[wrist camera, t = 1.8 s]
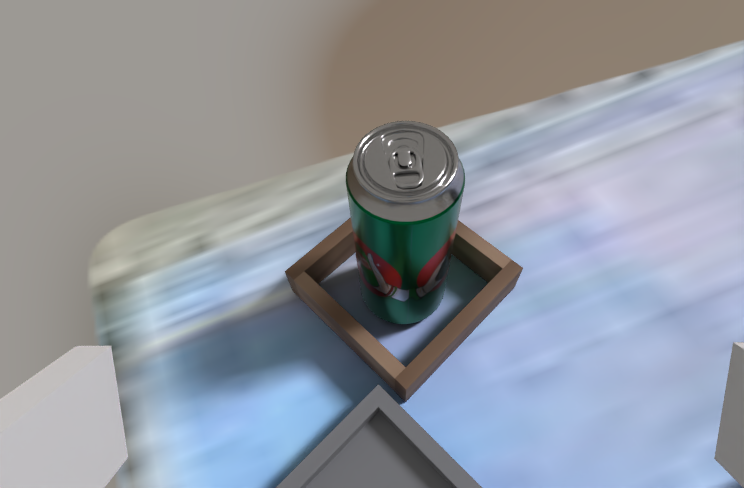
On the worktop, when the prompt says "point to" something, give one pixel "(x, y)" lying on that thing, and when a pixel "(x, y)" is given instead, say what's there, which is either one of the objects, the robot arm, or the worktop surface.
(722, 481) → the worktop surface
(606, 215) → the worktop surface
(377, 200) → the soda can
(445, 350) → the walnut collar
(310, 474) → the grey tray
